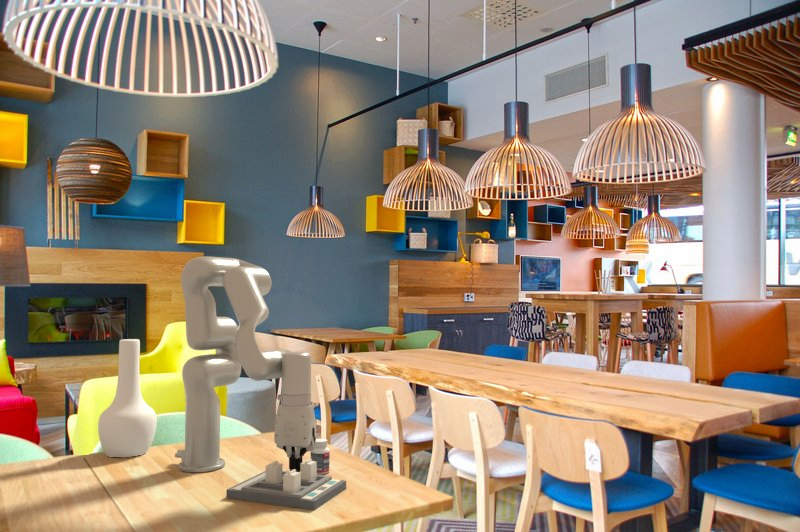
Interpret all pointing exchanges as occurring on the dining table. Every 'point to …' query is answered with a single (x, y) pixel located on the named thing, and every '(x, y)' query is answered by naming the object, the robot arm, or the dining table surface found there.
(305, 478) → the tab
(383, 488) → the dining table surface
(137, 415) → the vase
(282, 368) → the robot arm
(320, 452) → the pill bottle
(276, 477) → the tab
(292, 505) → the switch bank
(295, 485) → the tab
